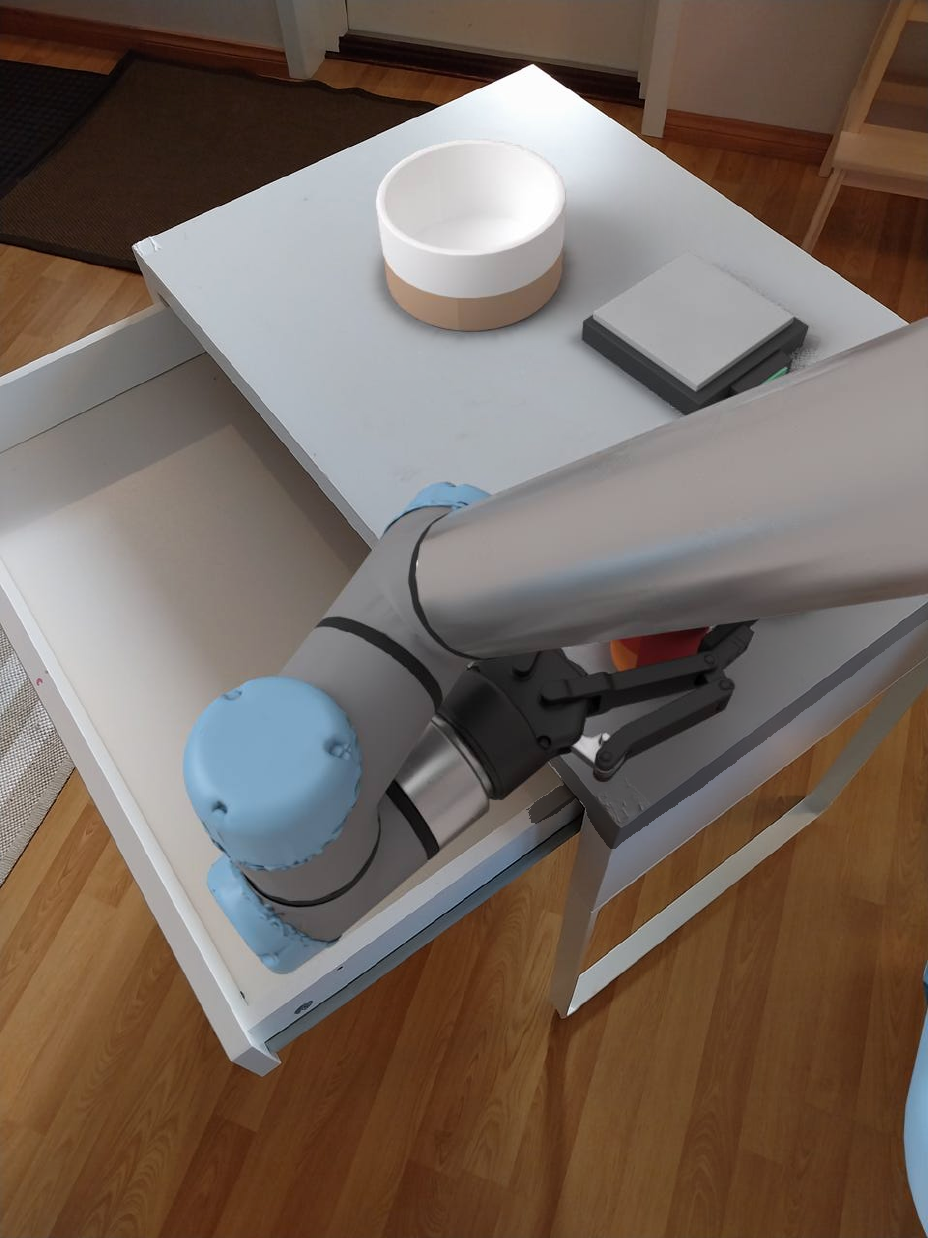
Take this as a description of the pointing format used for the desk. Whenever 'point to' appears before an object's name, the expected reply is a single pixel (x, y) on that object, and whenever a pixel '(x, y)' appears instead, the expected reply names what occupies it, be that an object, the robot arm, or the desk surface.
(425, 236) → the bowl
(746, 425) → the robot arm
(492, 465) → the desk surface
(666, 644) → the coffee cup
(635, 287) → the scale
